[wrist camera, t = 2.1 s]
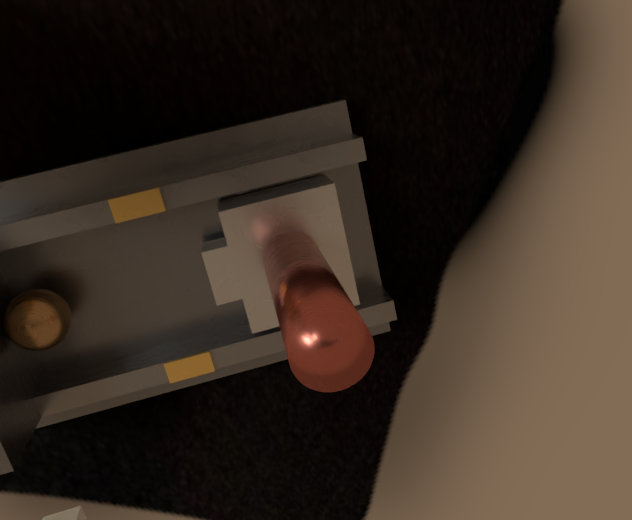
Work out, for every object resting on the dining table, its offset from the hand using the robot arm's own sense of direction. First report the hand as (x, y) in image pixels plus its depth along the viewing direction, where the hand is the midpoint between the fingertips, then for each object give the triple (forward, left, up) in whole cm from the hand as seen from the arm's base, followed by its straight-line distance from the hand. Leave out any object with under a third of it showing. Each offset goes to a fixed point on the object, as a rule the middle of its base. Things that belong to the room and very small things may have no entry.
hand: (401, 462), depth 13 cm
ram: (-1, -1, -22) cm, 22 cm away
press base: (-7, -1, -23) cm, 24 cm away
